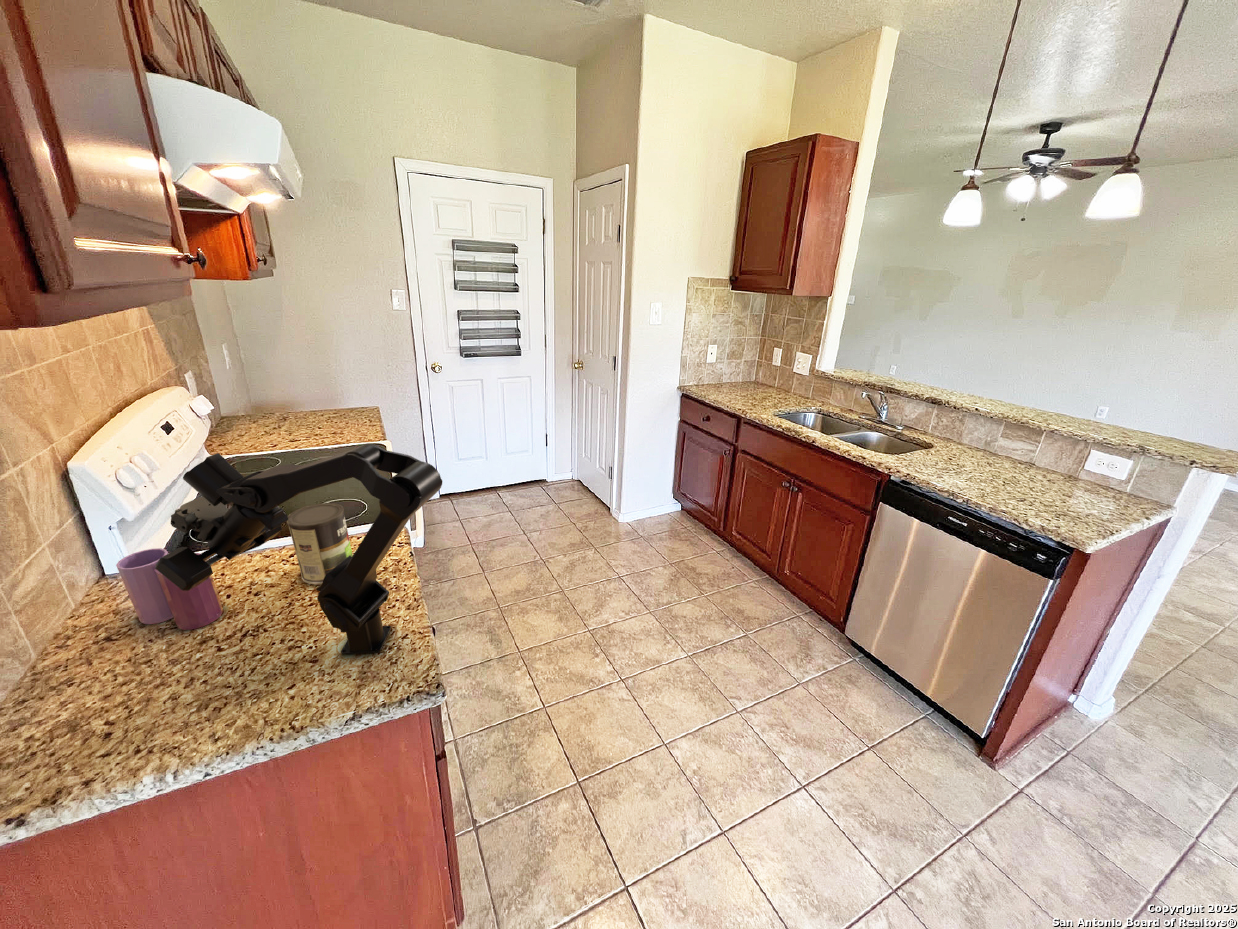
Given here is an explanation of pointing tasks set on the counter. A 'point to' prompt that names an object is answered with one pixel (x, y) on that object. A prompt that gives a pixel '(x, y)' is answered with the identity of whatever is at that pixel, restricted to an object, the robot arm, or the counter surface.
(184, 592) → the plum cup
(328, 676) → the counter surface
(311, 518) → the coffee can
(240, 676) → the counter surface
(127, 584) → the lavender cup
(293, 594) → the counter surface
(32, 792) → the counter surface
